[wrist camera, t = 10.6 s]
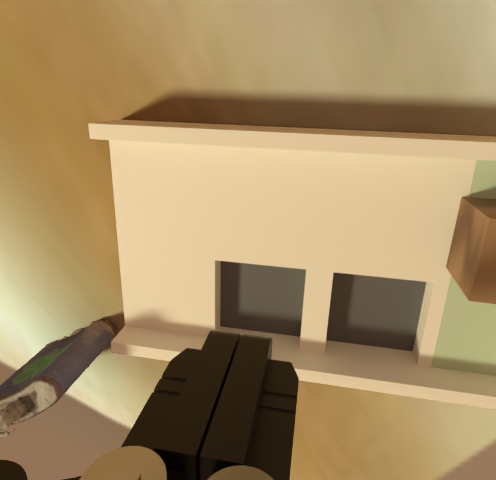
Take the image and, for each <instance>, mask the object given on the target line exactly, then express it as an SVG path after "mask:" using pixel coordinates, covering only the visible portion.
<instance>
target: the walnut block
mask: <svg viewBox="0 0 496 480" xmlns="http://www.w3.org/2000/svg"><path fill="white" fill-rule="evenodd" d="M446 268H447V269H448V271H449V272H450V274H451V275H452V277H453V278H454V280H455V281H456V283H457V284H458V286H459V287H460V289H461V290H462V292H463V293H464V295H465V296H466V297H467V299H468V300H469V301H473V302H481V303H490V304H496V199H483V198H470V197H462V198H461V202H460V207H459V211H458V215H457V220H456V224H455V229H454V233H453V238H452V242H451V247H450V251H449V256H448V260H447V264H446Z"/></svg>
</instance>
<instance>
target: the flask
mask: <svg viewBox="0 0 496 480" xmlns="http://www.w3.org/2000/svg"><path fill="white" fill-rule="evenodd" d="M113 327H114V326H113V324H111V323H110V321H109V320H97V321H93V322H92V323H91V325H90V326H88V327H86V328H83V329H82V328H81V329H79V330H76V331H74V332H73V333H72V334H71V336H70V337H65V336H64V338H63V339H62V340H60V341H57V340H56V341H55V342H52V343H50V344H47V345H46V346H45V347H44V348H43V349H42V350H41V351H40V352H39V353H38V354H36V355H35V356H34V357H33V358H31V359H30V360H29V361H28V362H27V363H26V364H25V365H23V366H22V367H21V368H20V369H18V370H17V371H16V372H15V373H14V374H13V375H12V376H11V377H9V378H8V379H7V380H6V381H5V382H4V383H2V384H1V385H0V430H2V429H8V428H9V427H10V425H12V424H16V423H19V422H22V421H25V420H27V419H30V418H32V417H34V416H36V415H38V414H39V413H41V412H43V411H44V410H46V409H48V408H49V407H51V406H52V405H53V404H55V403H56V402H57V401H58V400H59V399H60V398H61V397H62V395H63V394H64V393H65V392H66V391H67V390H68V389H69V387H70V386H71V385H72V384H73V383H74V382H75V381H76V380H77V379H78V378H79V376H80V375H81V374H82V373H83V372H84V371H85V369H86V368H88V367H89V365H90V364H91V363H92V362H93V361H94V359H95V358H96V357H97V356H98V355H99V354H100V353H101V352H102V351H103V350H104V349H105V347H106V346H107V345H108V344H110V343H111V341H112V340H113V339H114V337H115V334H116V329H115V327H114V329H113ZM113 330H114V331H113ZM13 431H14V429H12V430H11V432H13ZM9 435H10V433H9V432H7V431H4V432H0V436H2V437H4V436H5V437H6V436H9Z"/></svg>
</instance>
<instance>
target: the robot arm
mask: <svg viewBox="0 0 496 480" xmlns="http://www.w3.org/2000/svg"><path fill="white" fill-rule="evenodd" d="M271 357H272V338H270V337H263V336H255V335H247V334H242V335H241V334H239V333H231V332H223V331H216V330H211V331H210V332H209V334H208V336H207V338H206V340H205V342H204V345H203V347H202V349H201V350H199V349H192V348H186V349H185V350H183V351H182V352H181V353H179V354H178V355H177V356H176V357H174V358H173V359H172V360H171V361H170V363H169V364H168V366H167V368H166V370H165V371H164V373H163V375H162V379H160V380H159V382H158V384H157V385H156V387H155V389H154V393H153V392H152V394H151V396H150V398H149V399H148V401H147V403H146V405H145V406H144V408H143V410H142V412H141V413H140V415H139V417H138V419H137V420H136V422H135V424H134V426H133V427H132V429H131V431H130V433H129V434H128V436H127V438H126V440H125V441H124V443H123V445H122V446H121V448H117V449H114V450H112V451H109V452H107V453H105V454H104V455H102V456H101V457H99V458H98V459H96V460H95V461H94V462H93V463H92V464H91V465H90V466H89V467H88V469H87V470H86V471H85V472H84V474H83V475H82V476H79V477H76V478H70V479H64V480H289V478H290V467H291V457H292V446H293V436H294V425H295V414H296V403H297V393H298V382H299V378H298V376H297V373H296V371H295V369H294V367H293V365H292V363H291V362H286V361H279V360H272V359H271ZM0 480H28V479H27V475H26V472H25V471H24V469H23V468H22V467H21V466H20V465H19V464H17V463H15V462H12V461H8V460H0Z"/></svg>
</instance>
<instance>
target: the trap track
mask: <svg viewBox="0 0 496 480" xmlns="http://www.w3.org/2000/svg"><path fill="white" fill-rule="evenodd" d="M88 125H89V135H90V139H102V140H109V145H110V156H111V168H112V179H113V191H114V202H115V214H116V226H117V237H118V249H119V260H120V272H121V283H122V295H123V307H124V318H125V326H124V328H123V329H122V330H121V331H120V332H119V333H118V334H117V336H116V337H115V338H114V339H113V340H112V341H111V350H112V353H118V354H125V355H132V356H138V357H145V358H152V359H159V360H166V361H171V360H172V359H173V358H174V357H176V356H177V355H178V354H179V353H181V352H182V351H183V350H185V349H186V348H192V349H199V350H201V349H202V347H203V345H204V342H205V340H206V338H207V336H208V334H209V332H210V331H211V330H216V331H223V332H231V333H239V334H241V335H242V334H247V335H255V336H263V337H270V338H272V357H271V359H272V360H279V361H286V362H291V363H292V365H293V367H294V369H295V371H296V373H297V376H298V378H299V380H301V381H308V382H315V383H321V384H328V385H335V386H342V387H349V388H355V389H362V390H369V391H376V392H382V393H389V394H396V395H403V396H410V397H416V398H423V399H430V400H437V401H443V402H450V403H457V404H464V405H471V406H477V407H484V408H491V409H496V304H490V303H481V302H473V301H469V300H468V299H467V297H466V296H465V295H464V293H463V292H462V290H461V289H460V287H459V286H458V284H457V283H456V281H455V280H454V278H453V277H452V275H451V274H450V272H449V271H448V269H447V268H446V264H447V260H448V256H449V251H450V247H451V242H452V238H453V233H454V229H455V224H456V220H457V215H458V211H459V207H460V202H461V198H462V197H470V198H483V199H496V136H476V135H454V134H431V133H409V132H387V131H364V130H342V129H320V128H297V127H275V126H253V125H230V124H208V123H186V122H163V121H141V120H113V121H105V122H96V123H88Z"/></svg>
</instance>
